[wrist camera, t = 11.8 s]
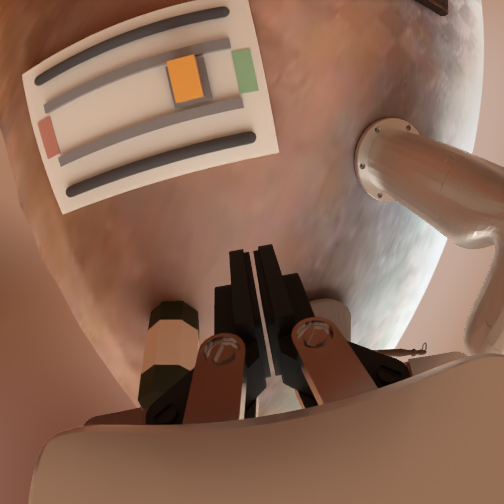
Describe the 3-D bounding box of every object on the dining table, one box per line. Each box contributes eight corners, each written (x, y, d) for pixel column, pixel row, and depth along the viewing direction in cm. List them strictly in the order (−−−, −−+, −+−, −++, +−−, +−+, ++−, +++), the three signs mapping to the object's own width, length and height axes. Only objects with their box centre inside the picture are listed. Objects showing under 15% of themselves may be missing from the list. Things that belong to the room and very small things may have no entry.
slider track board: (242, 0, 23) (247, -11, 20) (273, 148, 34) (281, 154, 30) (34, 75, 22) (17, 75, 19) (71, 205, 33) (59, 217, 29)
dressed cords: (227, 7, 21) (228, 3, 20) (256, 141, 30) (258, 143, 29) (37, 78, 21) (31, 78, 20) (70, 196, 29) (66, 200, 28)
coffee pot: (284, 343, 52) (304, 410, 39) (281, 297, 46) (307, 371, 33) (384, 318, 53) (418, 372, 40) (394, 272, 47) (440, 328, 34)
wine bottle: (141, 309, 43) (115, 494, 17) (186, 293, 43) (185, 497, 17) (166, 341, 47) (161, 508, 22) (208, 328, 47) (223, 506, 21)
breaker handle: (203, 58, 24) (202, 48, 19) (212, 98, 27) (213, 97, 21) (166, 67, 24) (156, 60, 19) (175, 108, 26) (167, 109, 21)
